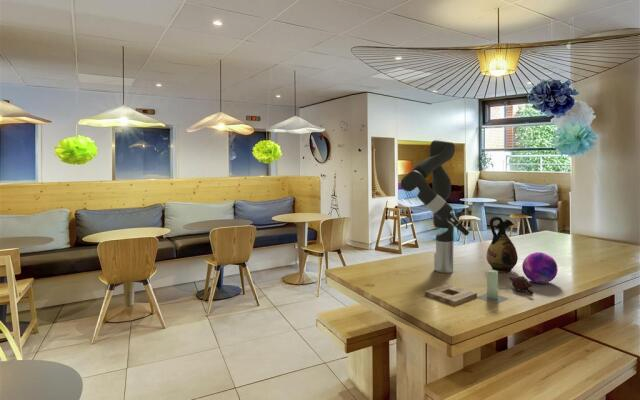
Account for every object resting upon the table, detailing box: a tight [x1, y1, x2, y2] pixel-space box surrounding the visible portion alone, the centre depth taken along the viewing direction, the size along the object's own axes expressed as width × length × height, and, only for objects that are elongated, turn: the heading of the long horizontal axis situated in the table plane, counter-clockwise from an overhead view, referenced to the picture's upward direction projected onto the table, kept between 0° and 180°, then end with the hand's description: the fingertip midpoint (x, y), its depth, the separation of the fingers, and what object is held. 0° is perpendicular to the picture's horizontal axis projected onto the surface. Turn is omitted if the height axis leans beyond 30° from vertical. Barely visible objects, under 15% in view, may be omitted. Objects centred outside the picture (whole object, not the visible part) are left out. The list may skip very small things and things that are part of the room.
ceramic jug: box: [485, 215, 519, 274], centre depth 208 cm, size 17×15×30 cm
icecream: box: [509, 275, 534, 296], centre depth 177 cm, size 7×7×15 cm
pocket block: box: [424, 283, 478, 306], centre depth 171 cm, size 16×16×2 cm
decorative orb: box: [521, 251, 559, 284], centre depth 187 cm, size 15×15×15 cm
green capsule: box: [486, 269, 499, 300], centre depth 167 cm, size 4×4×12 cm
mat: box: [476, 292, 510, 305], centre depth 167 cm, size 10×10×1 cm
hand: (465, 232), depth 168 cm, fingers open, 8 cm apart
